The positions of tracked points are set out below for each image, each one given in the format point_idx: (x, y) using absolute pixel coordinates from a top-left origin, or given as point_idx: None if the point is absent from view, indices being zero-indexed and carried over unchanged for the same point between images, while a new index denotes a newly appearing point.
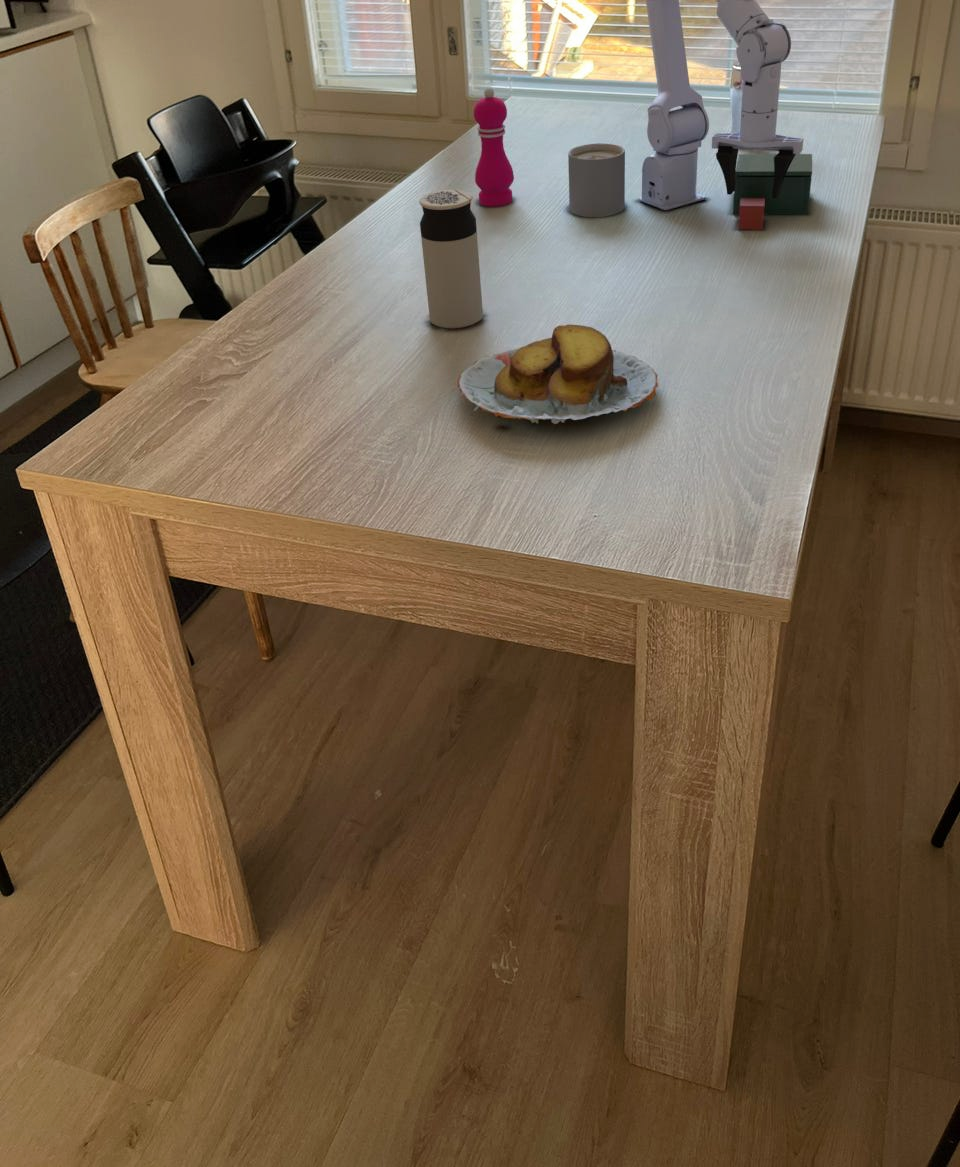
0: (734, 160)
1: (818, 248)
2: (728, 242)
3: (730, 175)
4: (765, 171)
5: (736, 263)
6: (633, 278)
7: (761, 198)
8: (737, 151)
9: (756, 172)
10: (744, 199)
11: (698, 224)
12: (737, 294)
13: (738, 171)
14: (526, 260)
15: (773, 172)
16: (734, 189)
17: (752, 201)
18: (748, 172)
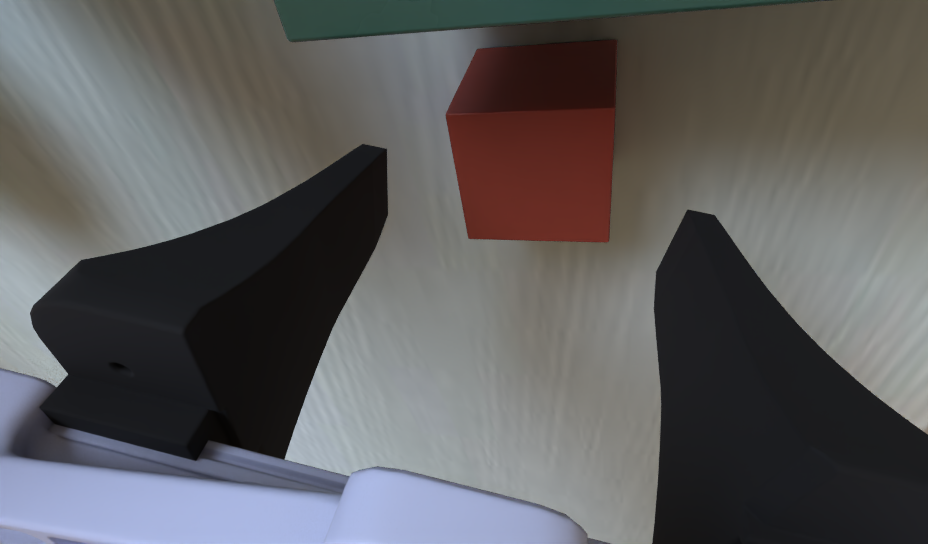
0: (284, 321)
1: (844, 343)
2: (479, 286)
3: (335, 310)
4: (597, 17)
5: (533, 409)
6: (320, 441)
7: (587, 117)
8: (234, 313)
9: (497, 23)
10: (473, 141)
11: (292, 105)
12: (556, 510)
13: (313, 40)
14: (52, 360)
15: (698, 4)
16: (383, 157)
17: (530, 175)
18: (414, 30)
